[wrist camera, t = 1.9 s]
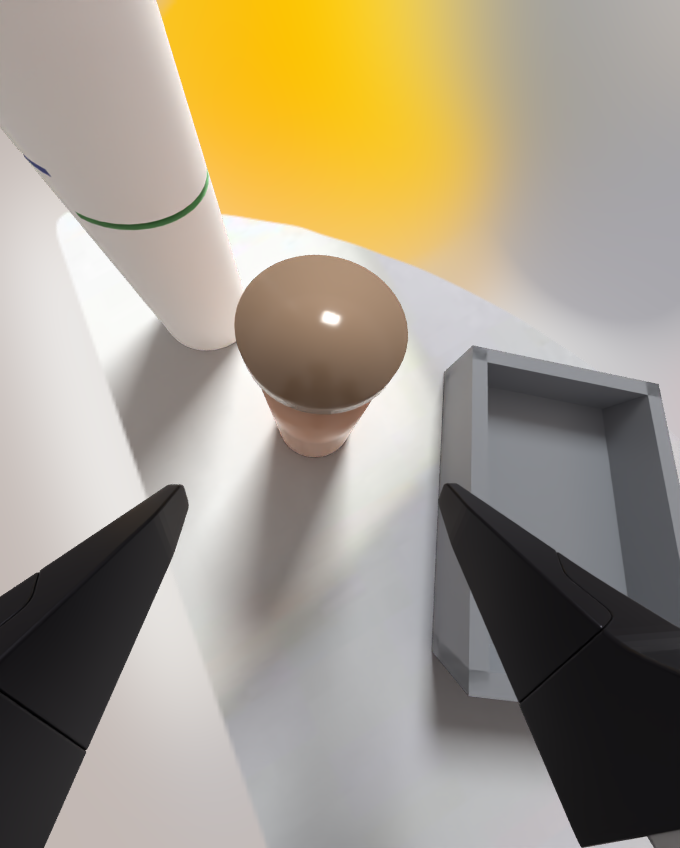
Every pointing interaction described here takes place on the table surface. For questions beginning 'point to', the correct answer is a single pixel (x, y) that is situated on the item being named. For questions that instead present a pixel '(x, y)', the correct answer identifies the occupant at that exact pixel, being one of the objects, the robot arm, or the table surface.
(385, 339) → the brown tapered round piece
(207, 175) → the cylindrical container
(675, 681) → the robot arm
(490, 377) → the tray
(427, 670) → the table surface
